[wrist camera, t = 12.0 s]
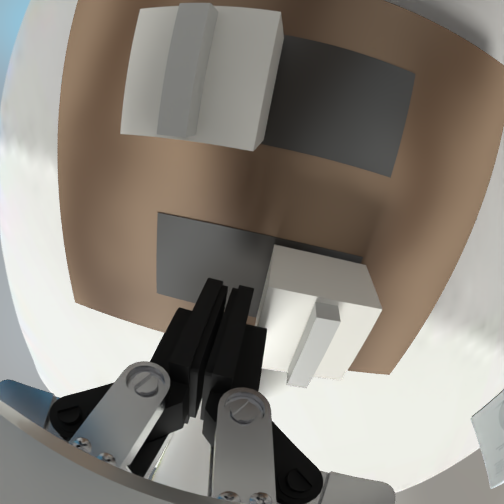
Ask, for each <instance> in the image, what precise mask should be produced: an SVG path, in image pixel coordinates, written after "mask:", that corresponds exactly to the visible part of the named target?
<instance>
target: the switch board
mask: <svg viewBox="0 0 504 504" xmlns="http://www.w3.org/2000/svg"><path fill="white" fill-rule="evenodd" d="M180 3H211V4H212V5H213V6H230V7H244V8H255V9H263V10H271V11H278V12H281V16H282V24H283V33H284V41H283V46H282V50H281V55H280V60H279V65H278V70H277V75H276V80H275V85H274V90H273V95H272V100H271V105H270V110H269V116H268V121H267V126H266V131H265V136H264V140H263V141H262V143H261V144H260V145H259V146H258V147H257V148H256V149H255V150H254V151H248V150H243V149H237V148H231V147H225V146H219V145H213V144H206V143H200V142H193V141H185V140H177V139H169V138H160V137H150V136H140V135H128V134H120V131H121V119H122V109H123V100H124V92H125V85H126V78H127V71H128V65H129V59H130V54H131V48H132V43H133V38H134V33H135V29H136V24H137V20H138V16H139V12H140V9H144V8H154V7H168V6H179V4H180ZM503 126H504V65H503V64H501V63H500V62H498V61H497V60H496V59H494V58H493V57H491V56H490V55H489V54H487V53H486V52H484V51H483V50H481V49H480V48H478V47H477V46H475V45H473V44H472V43H470V42H469V41H467V40H465V39H464V38H462V37H460V36H459V35H457V34H455V33H453V32H452V31H450V30H448V29H446V28H444V27H442V26H440V25H439V24H437V23H435V22H433V21H431V20H429V19H426V18H424V17H422V16H420V15H418V14H416V13H413V12H411V11H409V10H407V9H404V8H402V7H399V6H397V5H394V4H392V3H389V2H387V1H384V0H78V3H77V6H76V10H75V14H74V18H73V22H72V26H71V30H70V35H69V40H68V45H67V50H66V56H65V62H64V69H63V76H62V84H61V94H60V105H59V120H58V185H59V200H60V212H61V222H62V230H63V238H64V245H65V252H66V258H67V264H68V270H69V275H70V280H71V285H72V290H73V294H74V299H75V302H76V303H78V304H81V305H83V306H86V307H89V308H91V309H94V310H97V311H100V312H102V313H105V314H108V315H111V316H114V317H117V318H120V319H123V320H126V321H129V322H132V323H135V324H138V325H141V326H144V327H147V328H151V329H154V330H157V331H161V332H164V333H165V332H166V330H167V328H168V326H169V324H170V322H171V320H172V318H173V316H174V314H175V312H176V311H177V309H178V308H179V307H180V308H184V309H188V310H191V311H192V310H193V308H194V306H195V304H196V302H197V300H198V297H199V295H200V293H201V291H202V289H203V287H204V285H205V283H206V281H207V279H208V278H212V279H217V280H221V281H223V285H224V286H228V292H227V298H226V304H225V308H226V305H227V302H228V299H229V296H230V293H231V290H232V288H237V289H238V287H239V285H242V286H247V287H251V288H254V291H253V296H252V300H251V305H250V309H249V313H248V318H247V322H246V324H249V325H253V326H255V322H256V317H257V313H258V309H259V305H260V301H261V297H262V293H263V289H264V285H265V281H266V277H267V273H268V269H269V265H270V261H271V257H272V252H273V248H274V244H275V245H279V246H284V247H288V248H293V249H297V250H302V251H306V252H311V253H315V254H319V255H324V256H328V257H333V258H337V259H341V260H346V261H350V262H355V263H359V264H363V265H366V267H367V269H368V272H369V274H370V277H371V279H372V282H373V285H374V287H375V290H376V293H377V295H378V298H379V301H380V304H381V307H382V311H381V313H380V315H379V317H378V319H377V321H376V322H375V324H374V326H373V328H372V330H371V332H370V333H369V335H368V337H367V339H366V340H365V342H364V344H363V345H362V347H361V349H360V351H359V352H358V354H357V356H356V357H355V359H354V361H353V362H352V364H351V365H350V367H349V369H348V371H356V372H366V373H376V374H387V375H389V374H390V373H391V372H392V370H393V369H394V368H395V366H396V365H397V363H398V362H399V361H400V359H401V358H402V356H403V355H404V354H405V352H406V351H407V349H408V348H409V346H410V345H411V343H412V342H413V340H414V339H415V337H416V336H417V334H418V332H419V331H420V329H421V328H422V326H423V325H424V323H425V321H426V320H427V318H428V316H429V315H430V313H431V311H432V310H433V308H434V306H435V304H436V303H437V301H438V299H439V297H440V295H441V294H442V292H443V290H444V288H445V286H446V284H447V282H448V280H449V278H450V277H451V275H452V273H453V271H454V269H455V266H456V264H457V262H458V260H459V258H460V256H461V254H462V252H463V249H464V247H465V245H466V243H467V240H468V238H469V236H470V233H471V231H472V228H473V226H474V223H475V221H476V218H477V216H478V213H479V210H480V208H481V205H482V202H483V199H484V196H485V193H486V190H487V187H488V184H489V181H490V178H491V175H492V171H493V168H494V164H495V160H496V157H497V153H498V149H499V145H500V140H501V136H502V131H503ZM224 311H225V310H224Z"/></svg>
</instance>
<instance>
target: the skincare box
mask: <svg viewBox="0 0 504 504" xmlns="http://www.w3.org/2000/svg"><path fill="white" fill-rule="evenodd" d="M471 422H472V424H473V427H474V430H475V432H476V436H477V439H478V442H479V445H480V448H481V452H482V455H483V459H484V462H485V466H486V470H487V474H488V478H489V484H490V489H492V488H494V487H497V486H499V485H501V484H503V483H504V390H503V391H502V392H501V393H500V394H499V395H498V396H497V397H496V398H494V399H493V400H492V401H491V402H490V403H489V404H488V405H486V406H485V407H484V408H483V409H482V410H480V411H479V412H478V413H477V414H475V415H474V416H473V417H472V418H471Z"/></svg>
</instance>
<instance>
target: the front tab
mask: <svg viewBox="0 0 504 504" xmlns="http://www.w3.org/2000/svg"><path fill="white" fill-rule="evenodd" d="M283 41H284V33H283V24H282V16H281V12H278V11H271V10H263V9H255V8H244V7H230V6H213V5H212V4H211V3H180V4H179V6H168V7H154V8H144V9H140V12H139V16H138V20H137V24H136V29H135V33H134V38H133V43H132V48H131V54H130V59H129V65H128V71H127V78H126V85H125V92H124V100H123V109H122V119H121V131H120V134H128V135H140V136H150V137H160V138H169V139H177V140H185V141H193V142H200V143H206V144H213V145H219V146H225V147H231V148H237V149H243V150H248V151H254V150H255V149H256V148H257V147H258V146H259V145H260V144H261V143H262V141H263V140H264V136H265V131H266V126H267V121H268V116H269V110H270V105H271V100H272V95H273V90H274V85H275V80H276V75H277V70H278V65H279V60H280V55H281V50H282V46H283Z"/></svg>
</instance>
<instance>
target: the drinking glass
mask: <svg viewBox="0 0 504 504" xmlns="http://www.w3.org/2000/svg"><path fill="white" fill-rule="evenodd" d="M201 404H202V400H201V403H200V406H199V409H198V413H197V416H196V418H193V417H190V419H189V422H188V424H185V423H184V426H183V428H182V429H180V430H177V431H175V432H173V435H172V437H171V439H170V441H169V443H168V445H167V447H166V449H165V451H164V454H163V456H162V458H161V460H160V462H159V464H158V467H157V469H156V471H155V473H154V475H153V477H152V479H151V480H152V481H154V482H157V483H160V484H164V485H167V486H170V487H173V488H177V489H180V490H184V491H187V492H191V493H195V494H199V495H203V496H207V490H208V474H209V459H210V446H211V445H210V444H209V442H208V441H207V440H206V438H205V437H204V435H203V434H202V429H203V420H200V415H201Z"/></svg>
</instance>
